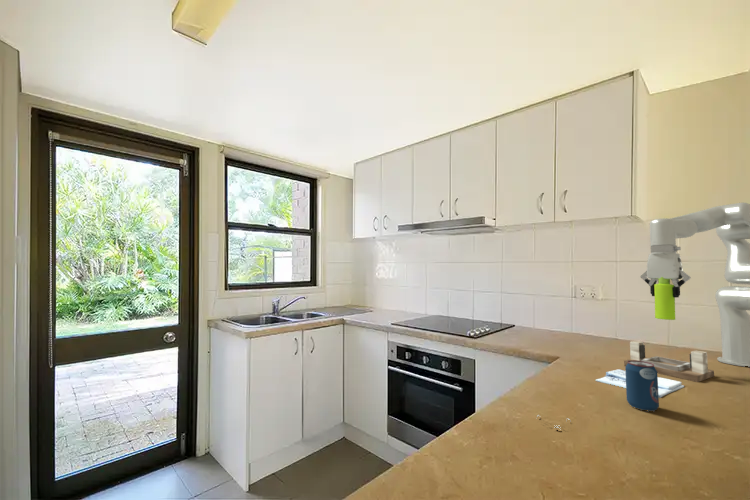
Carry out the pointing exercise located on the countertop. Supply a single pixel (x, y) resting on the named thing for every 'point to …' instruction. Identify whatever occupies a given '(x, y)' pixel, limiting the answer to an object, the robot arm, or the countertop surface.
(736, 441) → the countertop surface
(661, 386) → the folded white towel
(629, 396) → the soda can
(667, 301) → the soap dispenser
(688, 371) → the rail
